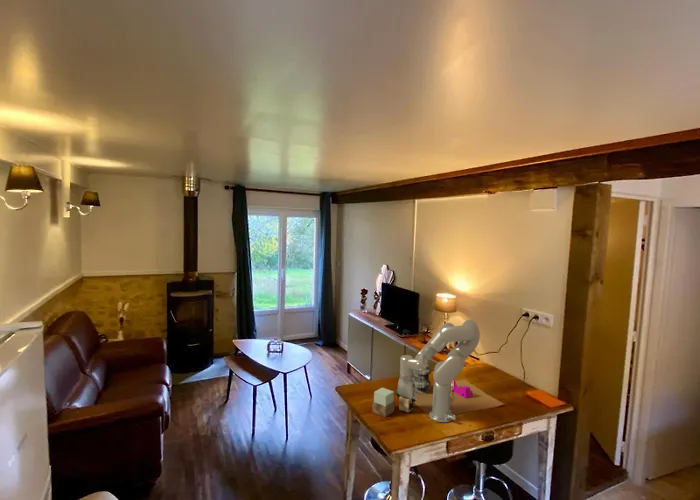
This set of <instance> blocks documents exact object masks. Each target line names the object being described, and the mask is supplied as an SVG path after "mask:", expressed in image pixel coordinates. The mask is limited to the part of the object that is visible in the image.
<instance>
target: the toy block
mask: <svg viewBox="0 0 700 500" xmlns="http://www.w3.org/2000/svg"><path fill="white" fill-rule="evenodd" d="M453 380H454V392H453V393H455V394H457V395H459V396H460V397H462V398H464V399H468V398H471V397H472V398H473V394H474V392H473V390H471V387H470V386H469V385H465V386H464V385H463V386H458V385H457V383H456V379H455V378H454V379H453Z"/></svg>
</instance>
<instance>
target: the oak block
mask: <svg viewBox="0 0 700 500" xmlns="http://www.w3.org/2000/svg"><path fill="white" fill-rule="evenodd" d="M409 404H410V400H409V398H407V397H404V396H401V397H399V399H398V409H399V410H400V411H403V412H406V413H409V412H411V411H412V410H413V409H411V410H409Z"/></svg>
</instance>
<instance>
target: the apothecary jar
mask: <svg viewBox="0 0 700 500" xmlns="http://www.w3.org/2000/svg"><path fill="white" fill-rule="evenodd" d="M431 372H432V370H431V368H430V367H429V364H428V363H427V365H426V369H425V370H424V371H423V372H416V371H413V377H415V380H414V381H415V387H416V392H419V393H418V394H420V393H425V394H427V393H428V392H427V390H428V388H430V386H431V384H432V383H431V381H430V378H429V377H430V374H431Z"/></svg>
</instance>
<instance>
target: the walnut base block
mask: <svg viewBox="0 0 700 500" xmlns="http://www.w3.org/2000/svg"><path fill="white" fill-rule="evenodd" d="M371 412H372V413H375V414H377V415H380V416H381V417H383V418H386V417H388V416H390V415H391V414H393V413H394V412H395V401H394V400H393V402H392V403H390V404H389V405H387V406H383V405H381V404H378V403H376V402H374V400H373V401H372V410H371Z"/></svg>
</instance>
